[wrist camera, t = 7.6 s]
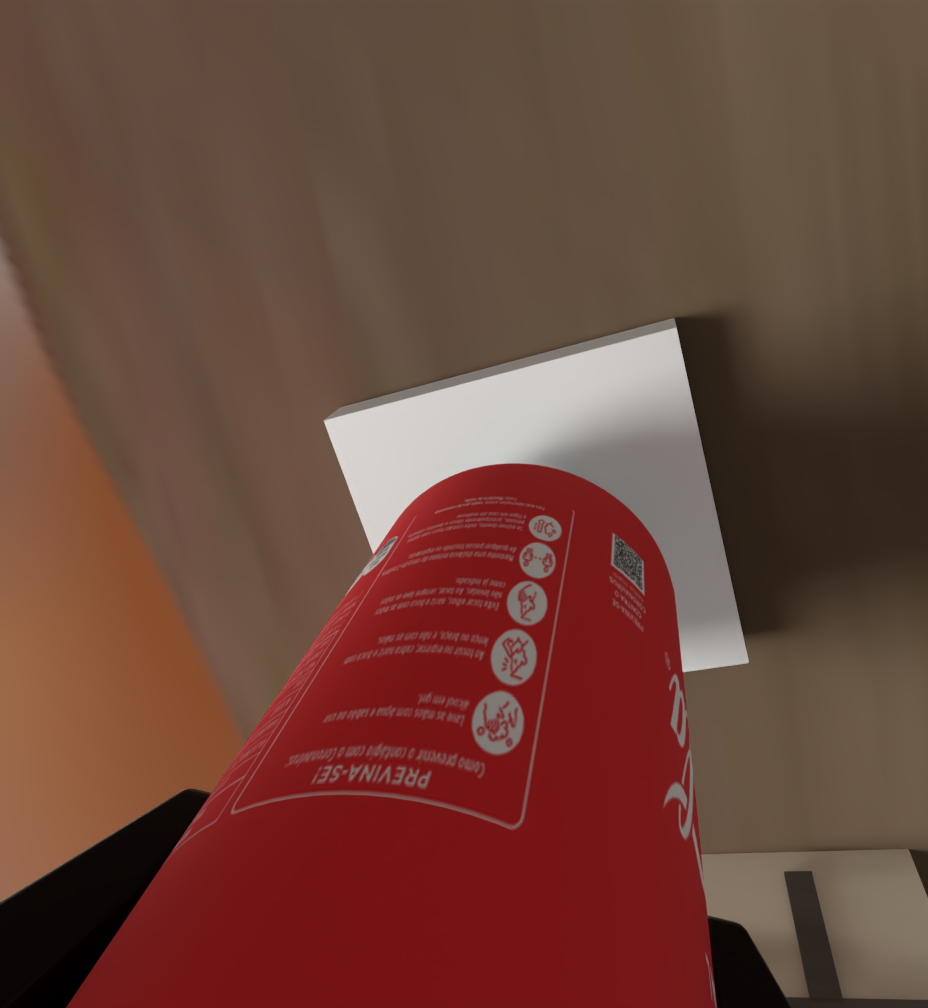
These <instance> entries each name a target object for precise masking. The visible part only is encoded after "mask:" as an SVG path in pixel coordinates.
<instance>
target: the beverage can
mask: <svg viewBox="0 0 928 1008" xmlns="http://www.w3.org/2000/svg"><path fill="white" fill-rule="evenodd" d="M66 1008H717V1005H716V995H715V985H714V975H713V965H712V955H711V946H710V936H709V926H708V916H707V906H706V896H705V886H704V877H703V867H702V857H701V847H700V837H699V827H698V818H697V808H696V798H695V788H694V778H693V768H692V758H691V749H690V739H689V729H688V719H687V709H686V699H685V690H684V680H683V670H682V660H681V650H680V640H679V630H678V621H677V611H676V601H675V592H674V588H673V584H672V581H671V577H670V574H669V571H668V568H667V565H666V563H665V560H664V558H663V556H662V553H661V551H660V549H659V547H658V545H657V544H656V542H655V540H654V539H653V537H652V536H651V534H650V533H649V531H648V530H647V528H646V527H645V526H644V525H643V523H642V522H641V521H640V520H639V519H638V518H637V516H636V515H635V514H634V513H633V512H632V511H631V510H630V509H629V508H628V507H626V506H625V505H624V504H623V503H622V502H621V501H619V500H618V499H617V498H616V497H614V496H613V495H611V494H610V493H609V492H607V491H606V490H604V489H602V488H601V487H599V486H597V485H596V484H594V483H592V482H590V481H588V480H586V479H584V478H581V477H579V476H577V475H575V474H572V473H570V472H567V471H564V470H561V469H558V468H554V467H549V466H544V465H536V464H521V463H506V464H494V465H487V466H482V467H477V468H473V469H469V470H466V471H463V472H460V473H458V474H455V475H453V476H450V477H448V478H446V479H444V480H442V481H440V482H438V483H437V484H435V485H433V486H432V487H430V488H429V489H427V490H426V491H425V492H423V493H422V494H421V495H419V496H418V497H417V498H416V499H415V500H414V501H413V502H412V503H411V504H410V505H409V506H408V507H407V508H406V509H405V510H404V511H403V513H402V514H401V515H400V516H399V518H398V519H397V520H396V522H395V523H394V525H393V526H392V528H391V529H390V531H389V532H388V534H387V535H386V536H385V538H384V539H383V541H382V542H381V544H380V545H379V547H378V548H377V550H376V551H375V553H374V554H373V556H372V557H371V559H370V560H369V562H368V563H367V564H366V566H365V567H364V569H363V570H362V572H361V573H360V575H359V576H358V578H357V579H356V581H355V582H354V584H353V585H352V587H351V588H350V590H349V591H348V593H347V594H346V595H345V597H344V598H343V600H342V601H341V603H340V604H339V606H338V607H337V609H336V610H335V612H334V613H333V615H332V616H331V618H330V619H329V621H328V622H327V623H326V625H325V626H324V628H323V629H322V631H321V632H320V634H319V635H318V637H317V638H316V640H315V641H314V643H313V644H312V646H311V647H310V649H309V650H308V652H307V653H306V654H305V656H304V657H303V659H302V660H301V662H300V663H299V665H298V666H297V668H296V669H295V671H294V672H293V674H292V675H291V677H290V678H289V680H288V681H287V682H286V684H285V685H284V687H283V688H282V690H281V691H280V693H279V694H278V696H277V697H276V699H275V700H274V702H273V703H272V705H271V706H270V708H269V709H268V711H267V712H266V713H265V715H264V716H263V718H262V719H261V721H260V722H259V724H258V725H257V727H256V728H255V730H254V731H253V733H252V734H251V736H250V737H249V739H248V740H247V741H246V743H245V744H244V746H243V747H242V749H241V750H240V752H239V753H238V755H237V756H236V758H235V759H234V761H233V762H232V764H231V765H230V767H229V768H228V770H227V771H226V773H225V774H224V775H223V777H222V778H221V780H220V781H219V783H218V784H217V786H216V787H215V789H214V790H213V792H212V793H211V795H210V796H209V798H208V799H207V800H206V802H205V803H204V805H203V806H202V808H201V809H200V811H199V812H198V814H197V815H196V817H195V818H194V820H193V821H192V823H191V824H190V826H189V827H188V829H187V830H186V831H185V833H184V834H183V836H182V837H181V839H180V840H179V842H178V843H177V845H176V846H175V848H174V849H173V851H172V852H171V854H170V855H169V857H168V858H167V859H166V861H165V862H164V864H163V865H162V867H161V868H160V870H159V871H158V873H157V874H156V876H155V877H154V879H153V880H152V882H151V883H150V885H149V886H148V888H147V889H146V890H145V892H144V893H143V895H142V896H141V898H140V899H139V901H138V902H137V904H136V905H135V907H134V908H133V910H132V911H131V913H130V914H129V916H128V917H127V918H126V920H125V921H124V923H123V924H122V926H121V927H120V929H119V930H118V932H117V933H116V935H115V936H114V938H113V939H112V941H111V942H110V944H109V945H108V947H107V948H106V949H105V951H104V952H103V954H102V955H101V957H100V958H99V960H98V961H97V963H96V964H95V966H94V967H93V969H92V970H91V972H90V973H89V975H88V976H87V977H86V979H85V980H84V982H83V983H82V985H81V986H80V988H79V989H78V991H77V992H76V994H75V995H74V997H73V998H72V1000H71V1001H70V1003H69V1004H68V1006H67V1007H66Z"/></svg>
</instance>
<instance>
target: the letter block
mask: <svg viewBox="0 0 928 1008" xmlns="http://www.w3.org/2000/svg"><path fill="white" fill-rule="evenodd" d="M701 857H702V867H703V877H704V886H705V896H706V906H707V915H709V916H713V917H717V918H721V919H725V920H729V921H733V922H737V923H739V924H741V925H742V926H743V927H744V928H745V929H746V930H747V932H748V933H749V935H750V937H751V938H752V940H753V942H754V943H755V945H756V947H757V949H758V950H759V952H760V954H761V955H762V957H763V959H764V961H765V962H766V964H767V966H768V967H769V969H770V971H771V973H772V974H773V976H774V978H775V979H776V981H777V983H778V985H779V986H780V988H781V990H782V991H783V993H784V995H785V997H786V998H787V1000H788V1002H789V1003H790V1005H791V1007H792V1008H928V897H927V894H926V892H925V889H924V887H923V884H922V882H921V879H920V877H919V874H918V872H917V869H916V867H915V864H914V862H913V859H912V857H911V854H910V852H909V849H888V850H850V851H812V852H775V853H737V854H701Z"/></svg>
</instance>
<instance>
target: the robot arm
mask: <svg viewBox="0 0 928 1008" xmlns="http://www.w3.org/2000/svg"><path fill="white" fill-rule="evenodd" d="M210 795H211V793H209V792H205V791H201V790H197V789H187V790H184V791H182V792H180V793H178V794H176V795H175V796H173V797H172V798H170V799H168V800H167V801H165V802H163V803H162V804H160V805H159V806H157V807H155V808H154V809H152V810H150V811H149V812H147V813H146V814H144V815H142V816H141V817H139V818H137V819H136V820H134V821H132V822H131V823H129V824H128V825H126V826H124V827H123V828H121V829H119V830H118V831H116V832H114V833H113V834H111V835H109V836H108V837H106V838H105V839H103V840H101V841H100V842H98V843H96V844H95V845H93V846H92V847H90V848H88V849H87V850H85V851H83V852H82V853H80V854H78V855H77V856H75V857H74V858H72V859H70V860H69V861H67V862H65V863H64V864H62V865H61V866H59V867H58V868H56V869H54V870H52V871H51V872H49V873H47V874H46V875H44V876H43V877H41V878H39V879H38V880H36V881H34V882H33V883H31V884H30V885H28V886H26V887H25V888H23V889H21V890H20V891H18V892H16V893H15V894H13V895H12V896H10V897H8V898H7V899H5V900H3V901H2V902H0V1008H66V1007H67V1006H68V1004H69V1003H70V1001H71V1000H72V998H73V997H74V995H75V994H76V992H77V991H78V989H79V988H80V986H81V985H82V983H83V982H84V980H85V979H86V977H87V976H88V975H89V973H90V972H91V970H92V969H93V967H94V966H95V964H96V963H97V961H98V960H99V958H100V957H101V955H102V954H103V952H104V951H105V949H106V948H107V947H108V945H109V944H110V942H111V941H112V939H113V938H114V936H115V935H116V933H117V932H118V930H119V929H120V927H121V926H122V924H123V923H124V921H125V920H126V918H127V917H128V916H129V914H130V913H131V911H132V910H133V908H134V907H135V905H136V904H137V902H138V901H139V899H140V898H141V896H142V895H143V893H144V892H145V890H146V889H147V888H148V886H149V885H150V883H151V882H152V880H153V879H154V877H155V876H156V874H157V873H158V871H159V870H160V868H161V867H162V865H163V864H164V862H165V861H166V859H167V858H168V857H169V855H170V854H171V852H172V851H173V849H174V848H175V846H176V845H177V843H178V842H179V840H180V839H181V837H182V836H183V834H184V833H185V831H186V830H187V829H188V827H189V826H190V824H191V823H192V821H193V820H194V818H195V817H196V815H197V814H198V812H199V811H200V809H201V808H202V806H203V805H204V803H205V802H206V800H207V799H208V798H209V796H210ZM707 916H708V926H709V936H710V946H711V955H712V965H713V975H714V985H715V995H716V1005H717V1008H792V1007H791V1005H790V1003H789V1002H788V1000H787V998H786V997H785V995H784V993H783V991H782V990H781V988H780V986H779V985H778V983H777V981H776V979H775V978H774V976H773V974H772V973H771V971H770V969H769V967H768V966H767V964H766V962H765V961H764V959H763V957H762V955H761V954H760V952H759V950H758V949H757V947H756V945H755V943H754V942H753V940H752V938H751V937H750V935H749V933H748V932H747V930H746V929H745V928H744V927H743V926H742V925H741V924H739V923H737V922H733V921H729V920H725V919H721V918H717V917H713V916H709V915H707Z"/></svg>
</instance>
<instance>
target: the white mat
mask: <svg viewBox="0 0 928 1008" xmlns="http://www.w3.org/2000/svg"><path fill="white" fill-rule="evenodd" d="M324 423H325V425H326V428H327V431H328V434H329V436H330V439H331V442H332V444H333V447H334V450H335V452H336V455H337V458H338V460H339V463H340V466H341V468H342V471H343V474H344V476H345V479H346V482H347V484H348V487H349V490H350V493H351V495H352V498H353V501H354V503H355V506H356V509H357V511H358V514H359V517H360V519H361V522H362V525H363V527H364V530H365V533H366V535H367V538H368V541H369V543H370V546H371V549H372V551H373V554H374V553H375V551H376V550H377V548H378V547H379V545H380V544H381V542H382V541H383V539H384V538H385V536H386V535H387V534H388V532H389V531H390V529H391V528H392V526H393V525H394V523H395V522H396V520H397V519H398V518H399V516H400V515H401V514H402V513H403V511H404V510H405V509H406V508H407V507H408V506H409V505H410V504H411V503H412V502H413V501H414V500H415V499H416V498H417V497H418V496H419V495H421V494H422V493H423V492H425V491H426V490H427V489H429V488H430V487H432V486H433V485H435V484H437V483H438V482H440V481H442V480H444V479H446V478H448V477H450V476H453V475H455V474H458V473H460V472H463V471H466V470H469V469H473V468H477V467H482V466H487V465H494V464H506V463H521V464H536V465H544V466H549V467H554V468H558V469H561V470H564V471H567V472H570V473H572V474H575V475H577V476H579V477H581V478H584V479H586V480H588V481H590V482H592V483H594V484H596V485H597V486H599V487H601V488H602V489H604V490H606V491H607V492H609V493H610V494H611V495H613V496H614V497H616V498H617V499H618V500H619V501H621V502H622V503H623V504H624V505H625V506H626V507H628V508H629V509H630V510H631V511H632V512H633V513H634V514H635V515H636V516H637V518H638V519H639V520H640V521H641V522H642V523H643V525H644V526H645V527H646V528H647V530H648V531H649V533H650V534H651V536H652V537H653V539H654V540H655V542H656V544H657V545H658V547H659V549H660V551H661V553H662V556H663V558H664V560H665V563H666V565H667V568H668V571H669V574H670V577H671V581H672V584H673V588H674V592H675V601H676V611H677V621H678V630H679V640H680V650H681V660H682V670H683V672H688V671H695V670H702V669H709V668H716V667H723V666H731V665H738V664H745V663H749V661H748V656H747V652H746V647H745V642H744V638H743V633H742V628H741V624H740V619H739V614H738V610H737V605H736V601H735V596H734V591H733V587H732V582H731V577H730V573H729V568H728V564H727V559H726V554H725V550H724V545H723V540H722V536H721V531H720V526H719V522H718V517H717V513H716V508H715V503H714V499H713V494H712V489H711V485H710V480H709V476H708V471H707V466H706V462H705V457H704V452H703V448H702V443H701V439H700V434H699V429H698V425H697V420H696V415H695V411H694V406H693V401H692V397H691V392H690V388H689V383H688V378H687V374H686V369H685V364H684V360H683V355H682V351H681V346H680V341H679V337H678V332H677V327H676V323H675V319H674V318H672V319H668V320H664V321H661V322H657V323H653V324H649V325H646V326H642V327H638V328H635V329H631V330H627V331H623V332H620V333H616V334H612V335H608V336H605V337H601V338H597V339H593V340H590V341H586V342H582V343H579V344H575V345H571V346H567V347H564V348H560V349H556V350H552V351H549V352H545V353H541V354H537V355H534V356H530V357H526V358H523V359H519V360H515V361H511V362H508V363H504V364H500V365H496V366H493V367H489V368H485V369H481V370H478V371H474V372H470V373H467V374H463V375H459V376H455V377H452V378H448V379H444V380H440V381H437V382H433V383H429V384H425V385H422V386H418V387H414V388H411V389H407V390H403V391H399V392H396V393H392V394H388V395H384V396H381V397H377V398H373V399H369V400H366V401H362V402H358V403H355V404H351V405H347V406H343V407H340V408H339V409H338V410H336V411H335V412H334V413H333V414H331V415H330V416H329V417H328V418H326V419H325V420H324Z"/></svg>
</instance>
